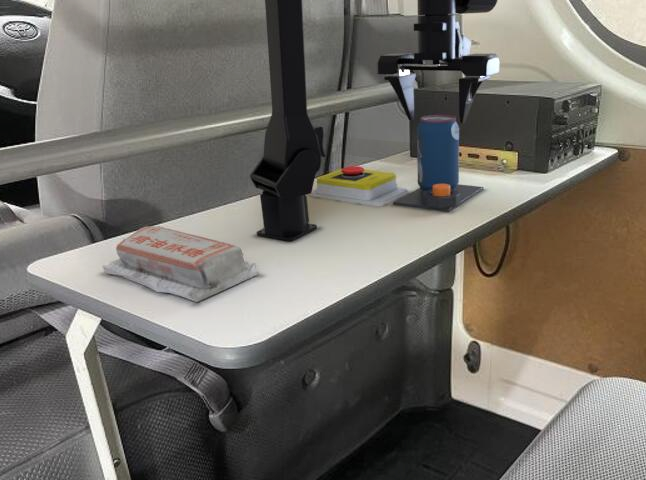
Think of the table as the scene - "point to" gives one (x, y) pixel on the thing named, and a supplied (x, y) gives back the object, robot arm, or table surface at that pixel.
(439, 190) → the button
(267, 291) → the table surface
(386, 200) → the emergency button
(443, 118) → the soda can
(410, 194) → the scale
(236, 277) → the packaged product
